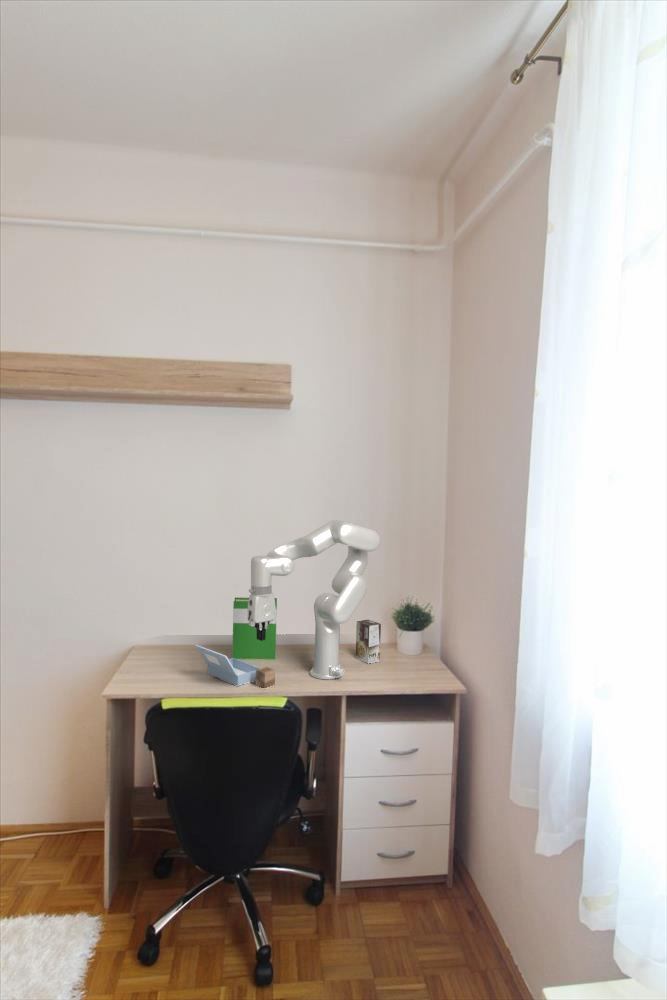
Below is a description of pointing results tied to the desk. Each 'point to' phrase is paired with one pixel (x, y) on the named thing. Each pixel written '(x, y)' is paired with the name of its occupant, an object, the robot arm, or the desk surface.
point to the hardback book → (251, 635)
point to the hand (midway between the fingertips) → (261, 639)
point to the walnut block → (265, 677)
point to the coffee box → (368, 641)
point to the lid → (216, 660)
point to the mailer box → (242, 669)
